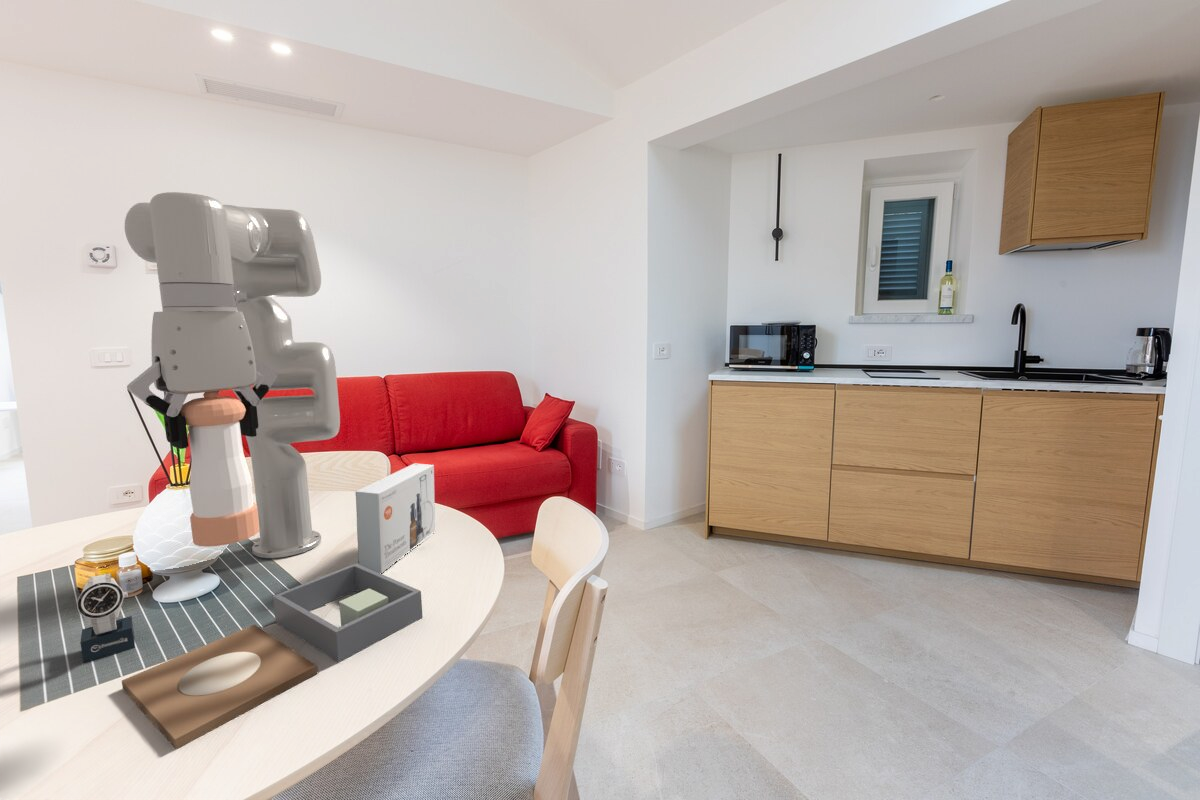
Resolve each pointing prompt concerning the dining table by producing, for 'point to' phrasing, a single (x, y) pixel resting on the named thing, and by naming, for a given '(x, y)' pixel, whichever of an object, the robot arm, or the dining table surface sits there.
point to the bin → (357, 633)
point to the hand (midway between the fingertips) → (215, 440)
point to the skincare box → (394, 515)
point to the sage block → (360, 605)
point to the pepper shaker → (219, 472)
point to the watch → (104, 619)
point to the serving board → (216, 683)
